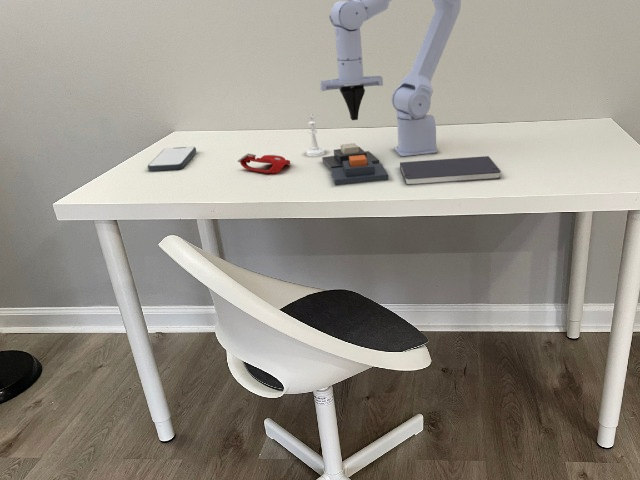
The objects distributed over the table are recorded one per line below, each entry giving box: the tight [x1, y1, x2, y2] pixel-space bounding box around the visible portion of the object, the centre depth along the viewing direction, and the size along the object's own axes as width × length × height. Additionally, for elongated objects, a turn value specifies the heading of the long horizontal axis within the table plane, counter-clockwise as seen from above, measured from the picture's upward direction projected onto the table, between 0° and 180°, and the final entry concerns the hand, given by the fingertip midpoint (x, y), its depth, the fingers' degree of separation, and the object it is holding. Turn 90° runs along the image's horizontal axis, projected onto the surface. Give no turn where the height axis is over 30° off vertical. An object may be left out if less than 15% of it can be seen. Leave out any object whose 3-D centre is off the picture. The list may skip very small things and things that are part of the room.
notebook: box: [399, 155, 501, 186], centre depth 142 cm, size 13×2×21 cm
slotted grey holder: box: [330, 159, 389, 186], centre depth 142 cm, size 12×9×3 cm
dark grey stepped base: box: [321, 146, 380, 172], centre depth 152 cm, size 12×9×3 cm
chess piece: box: [305, 113, 326, 157], centre depth 160 cm, size 5×5×10 cm
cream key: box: [339, 142, 360, 154], centre depth 151 cm, size 4×4×2 cm
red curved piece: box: [237, 153, 291, 174], centre depth 150 cm, size 12×4×10 cm
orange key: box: [349, 155, 367, 167], centre depth 141 cm, size 4×4×2 cm
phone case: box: [147, 146, 197, 172], centre depth 161 cm, size 9×2×16 cm
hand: (354, 119), depth 149 cm, fingers closed
